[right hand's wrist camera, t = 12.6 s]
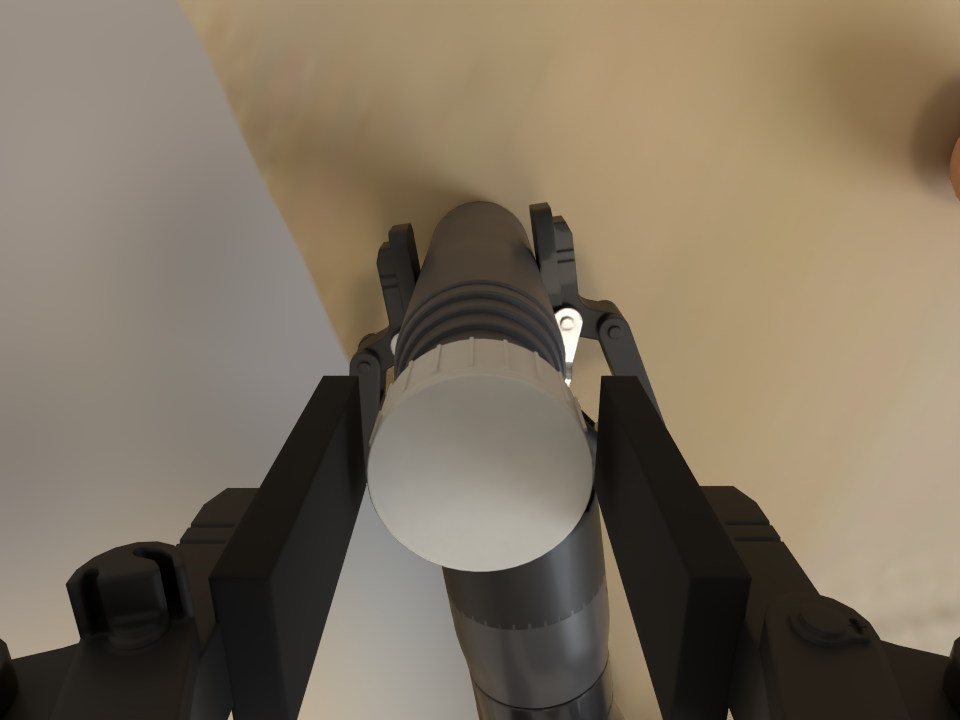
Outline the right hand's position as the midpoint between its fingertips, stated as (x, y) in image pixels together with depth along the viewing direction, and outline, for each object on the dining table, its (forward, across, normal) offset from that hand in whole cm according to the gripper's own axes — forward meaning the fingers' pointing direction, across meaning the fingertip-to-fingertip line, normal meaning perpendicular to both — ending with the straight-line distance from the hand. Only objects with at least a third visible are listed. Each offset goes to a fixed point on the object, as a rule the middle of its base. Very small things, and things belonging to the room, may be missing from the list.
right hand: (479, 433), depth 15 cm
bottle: (+19, 0, 0) cm, 19 cm away
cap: (-2, 0, 0) cm, 2 cm away
